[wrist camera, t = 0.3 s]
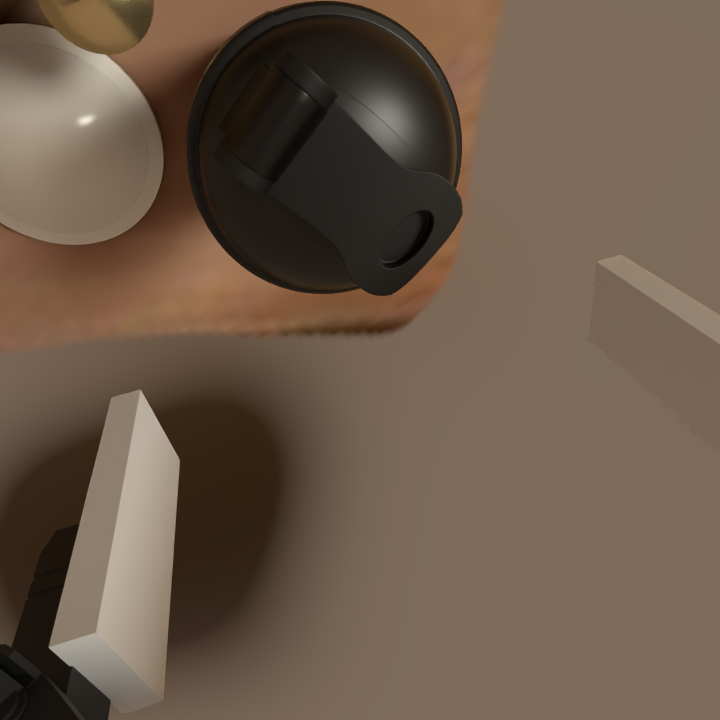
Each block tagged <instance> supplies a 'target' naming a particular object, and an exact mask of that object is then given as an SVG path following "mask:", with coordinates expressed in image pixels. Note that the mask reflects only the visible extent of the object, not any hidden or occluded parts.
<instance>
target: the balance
mask: <svg viewBox="0 0 720 720" xmlns="http://www.w3.org/2000/svg"><path fill="white" fill-rule="evenodd" d="M37 2H38V5H39V7H40V8H41V10H42V12H43V14H44V15H45V17H46V18H47V20H48V21H49V22H50V24H51V25H52V26H53V27H54V28H55V29H56V30H57V31H58V32H59V33H60V34H61V35H62V36H63V37H64V38H65V39H67V40H68V41H69V42H71V43H72V44H74V45H76V46H78V47H79V48H81V49H84V50H86V51H89V52H92V53H96V54H104V55H110V54H118V53H121V52H124V51H127V50H129V49H131V48H133V47H134V46H135V45H137V44H138V43H139V42H140V41H141V40H142V39H143V38H144V36H145V35H146V33H147V31H148V29H149V27H150V24H151V21H152V17H153V10H154V0H37Z"/></svg>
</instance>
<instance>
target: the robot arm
mask: <svg viewBox="0 0 720 720" xmlns="http://www.w3.org/2000/svg"><path fill="white" fill-rule="evenodd" d="M589 341H591V343H593V344H594V345H595V346H596V347H597V348H598V349H599V350H600V351H602V352H603V353H604V354H605V355H606V356H607V357H608V358H610V359H611V360H612V361H613V362H614V363H615V364H616V365H617V366H618V367H620V368H621V369H622V370H623V371H624V372H625V373H626V374H627V375H628V376H630V377H631V378H632V379H633V380H634V381H635V382H636V383H637V384H639V385H640V386H641V387H642V388H643V389H644V390H646V392H648V393H649V394H650V395H651V396H652V397H653V398H655V400H657V401H658V402H659V403H660V404H661V405H662V406H663V407H664V408H666V409H667V410H668V411H669V412H670V413H671V414H672V415H673V416H674V417H676V418H677V419H678V420H679V421H680V422H681V423H682V424H683V425H685V426H686V427H687V428H688V429H689V430H690V431H691V432H692V433H694V434H695V435H696V436H697V437H698V438H699V439H700V440H701V441H703V442H704V443H705V444H706V445H707V446H708V447H709V448H710V449H712V450H713V451H714V452H715V453H716V454H717V455H718V456H719V457H720V315H719V314H717V313H715V312H714V311H712V310H711V309H709V308H707V307H706V306H704V305H702V304H701V303H699V302H697V301H696V300H694V299H692V298H691V297H689V296H688V295H686V294H684V293H683V292H681V291H679V290H678V289H676V288H675V287H673V286H671V285H670V284H668V283H667V282H665V281H663V280H661V279H660V278H658V277H656V276H655V275H653V274H652V273H650V272H649V271H647V270H645V269H644V268H642V267H640V266H639V265H637V264H636V263H634V262H632V261H631V260H629V259H627V258H626V257H624V256H622V255H618V256H615V257H612V258H608V259H604V260H601V261H597V263H596V272H595V282H594V291H593V302H592V311H591V321H590V330H589ZM179 463H180V460H179V458H178V456H177V454H176V452H175V451H174V449H173V447H172V445H171V444H170V442H169V440H168V438H167V436H166V435H165V433H164V431H163V429H162V427H161V426H160V424H159V422H158V420H157V418H156V417H155V415H154V413H153V411H152V409H151V408H150V406H149V404H148V402H147V400H146V399H145V397H144V395H143V393H142V391H141V390H137V391H134V392H130V393H127V394H123V395H119V396H116V397H113V398H111V402H110V406H109V410H108V414H107V418H106V422H105V426H104V430H103V434H102V438H101V442H100V446H99V450H98V454H97V457H96V462H95V465H94V469H93V473H92V478H91V481H90V485H89V489H88V493H87V497H86V501H85V505H84V509H83V513H82V517H81V521H80V524H77V525H73V526H70V527H67V528H63V529H60V530H57V531H56V532H55V533H54V535H53V536H52V538H51V539H50V541H49V542H48V544H47V545H46V546H45V548H44V549H43V551H42V552H41V554H40V557H39V561H38V564H37V567H36V570H35V573H34V581H32V583H31V586H30V590H29V593H28V598H29V599H28V600H26V602H25V606H24V609H23V612H22V615H21V619H20V622H19V625H18V629H17V632H16V635H15V638H14V641H13V644H12V648H11V647H9V646H7V645H6V644H4V645H0V720H108V715H109V708H110V703H111V704H113V705H114V706H115V707H116V708H117V709H118V710H119V711H120V712H121V713H123V714H126V713H130V712H133V711H136V710H138V709H142V708H144V707H147V706H151V705H154V704H157V703H160V702H162V701H163V695H164V680H165V666H166V652H167V638H168V622H169V608H170V594H171V579H172V565H173V551H174V536H175V520H176V506H177V493H178V478H179Z"/></svg>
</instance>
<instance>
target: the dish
mask: <svg viewBox="0 0 720 720" xmlns="http://www.w3.org/2000/svg"><path fill="white" fill-rule="evenodd" d="M163 169H164V149H163V141H162V136H161V132H160V128H159V125H158V122H157V119H156V117H155V115H154V112H153V110H152V108H151V106H150V104H149V102H148V100H147V99H146V97H145V96H144V94H143V92H142V91H141V89H140V88H139V87H138V85H137V84H136V83H135V81H134V80H133V79H132V78H131V76H130V75H129V74H128V73H127V72H126V71H125V70H124V69H123V68H122V67H121V66H120V65H119V64H118V63H117V62H115V61H114V60H113V59H112V58H111V57H109V56H108V55H104V54H96V53H92V52H89V51H86V50H84V49H81V48H79V47H78V46H76V45H74V44H72V43H71V42H69V41H68V40H67V39H65V38H64V37H63V36H62V35H61V34H60V33H59V32H58V31H57V30H56V29H55V28H52V27H48V26H44V25H37V24H29V23H16V24H2V25H0V223H2V224H3V225H5V226H7V227H8V228H10V229H12V230H15V231H17V232H19V233H21V234H23V235H26V236H29V237H32V238H34V239H38V240H42V241H46V242H50V243H56V244H64V245H83V244H92V243H97V242H102V241H105V240H108V239H111V238H114V237H116V236H118V235H120V234H122V233H124V232H126V231H127V230H128V229H130V228H131V227H133V226H134V225H135V224H136V223H137V222H138V221H139V220H140V219H141V218H142V217H143V216H144V215H145V214H146V212H147V211H148V210H149V209H150V207H151V205H152V203H153V202H154V200H155V198H156V195H157V193H158V190H159V187H160V184H161V180H162V175H163Z"/></svg>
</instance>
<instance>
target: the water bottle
mask: <svg viewBox="0 0 720 720" xmlns="http://www.w3.org/2000/svg"><path fill="white" fill-rule="evenodd" d="M185 142H186V154H187V167H188V174H189V180H190V184H191V188H192V192H193V195H194V198H195V201H196V204H197V206H198V209H199V211H200V213H201V215H202V217H203V219H204V221H205V223H206V225H207V226H208V228H209V230H210V231H211V233H212V234H213V236H214V237H215V239H216V240H217V241H218V243H219V244H220V245H221V246H222V247H223V249H224V250H225V251H226V252H227V253H228V254H229V255H230V256H231V257H232V258H233V259H234V260H235V261H236V262H238V263H239V264H240V265H241V266H243V267H244V268H245V269H247V270H248V271H250V272H251V273H253V274H254V275H256V276H257V277H259V278H261V279H263V280H265V281H267V282H269V283H272V284H274V285H276V286H279V287H282V288H285V289H289V290H293V291H297V292H303V293H312V294H333V293H342V292H347V291H352V290H356V289H360V288H361V289H363V290H364V291H366V292H368V293H370V294H373V295H377V296H386V295H391V294H393V293H395V292H396V291H398V290H399V289H401V288H402V287H403V286H405V285H406V284H407V283H408V282H409V281H410V280H411V279H412V278H413V277H414V276H415V275H416V274H417V273H418V272H419V271H420V270H421V269H422V268H423V267H424V266H425V264H426V263H427V262H428V261H429V260H430V259H431V258H432V257H433V256H434V254H435V253H436V252H437V251H438V250H439V249H440V247H441V246H442V245H443V244H444V242H445V241H446V240H447V239H448V237H449V236H450V235H451V233H452V232H453V231H454V229H455V227H456V226H457V224H458V222H459V220H460V218H461V216H462V202H461V198H460V196H459V194H458V192H457V190H456V187H457V183H458V178H459V173H460V167H461V158H462V134H461V125H460V118H459V113H458V109H457V105H456V102H455V98H454V95H453V93H452V90H451V88H450V85H449V83H448V81H447V79H446V77H445V75H444V73H443V71H442V69H441V68H440V66H439V65H438V63H437V62H436V60H435V59H434V57H433V56H432V55H431V53H430V52H429V51H428V50H427V48H426V47H425V46H424V45H423V44H422V43H421V42H420V41H419V40H418V39H417V38H416V37H415V36H414V35H413V34H412V33H410V32H409V31H408V30H407V29H405V28H404V27H403V26H402V25H400V24H399V23H397V22H396V21H394V20H392V19H391V18H389V17H387V16H385V15H383V14H381V13H379V12H377V11H374V10H372V9H369V8H366V7H363V6H360V5H356V4H351V3H346V2H338V1H314V2H304V3H298V4H293V5H288V6H285V7H281V8H278V9H276V10H273V11H267V12H265V13H263V14H262V15H260V16H258V17H256V18H254V19H253V20H251V21H250V22H248V23H247V24H245V25H244V26H243V27H241V28H240V29H239V30H238V31H236V32H235V33H234V34H233V35H232V36H231V37H230V38H229V39H228V40H227V41H226V42H225V43H224V44H223V45H222V47H221V48H220V49H219V50H218V51H217V53H216V54H215V55H214V57H213V58H212V60H211V61H210V63H209V64H208V66H207V68H206V70H205V71H204V73H203V75H202V77H201V80H200V82H199V84H198V87H197V89H196V92H195V95H194V98H193V102H192V105H191V109H190V114H189V118H188V124H187V131H186V141H185Z"/></svg>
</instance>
